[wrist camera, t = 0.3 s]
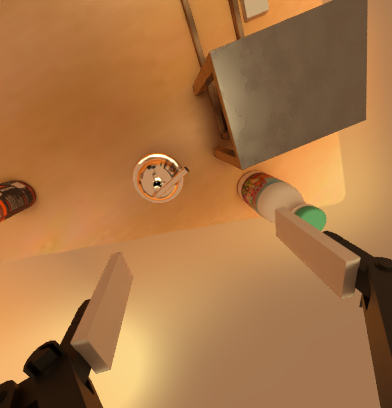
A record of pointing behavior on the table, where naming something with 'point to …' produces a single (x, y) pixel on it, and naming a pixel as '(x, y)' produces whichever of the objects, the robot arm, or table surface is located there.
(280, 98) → the shelf
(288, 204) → the milk bottle
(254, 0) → the broken lane
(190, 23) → the frame
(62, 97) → the table surface
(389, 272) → the robot arm
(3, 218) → the supplement bottle
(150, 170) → the cup with straw
